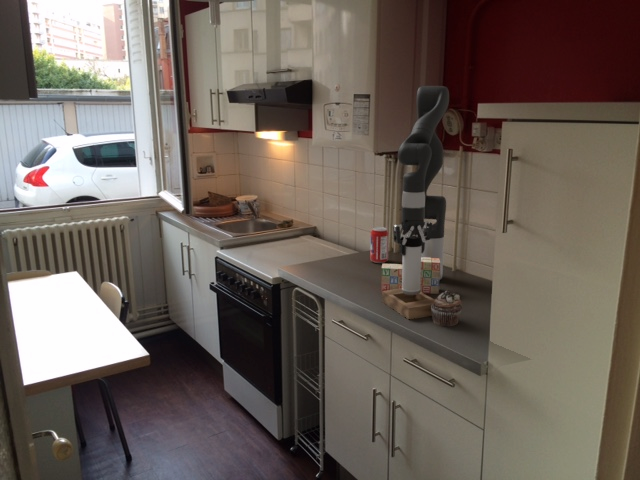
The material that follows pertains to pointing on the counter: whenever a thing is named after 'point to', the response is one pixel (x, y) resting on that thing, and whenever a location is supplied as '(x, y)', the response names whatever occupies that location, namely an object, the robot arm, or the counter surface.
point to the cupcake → (446, 309)
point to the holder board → (408, 303)
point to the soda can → (379, 245)
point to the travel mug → (412, 266)
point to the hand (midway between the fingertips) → (411, 253)
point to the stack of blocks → (428, 276)
